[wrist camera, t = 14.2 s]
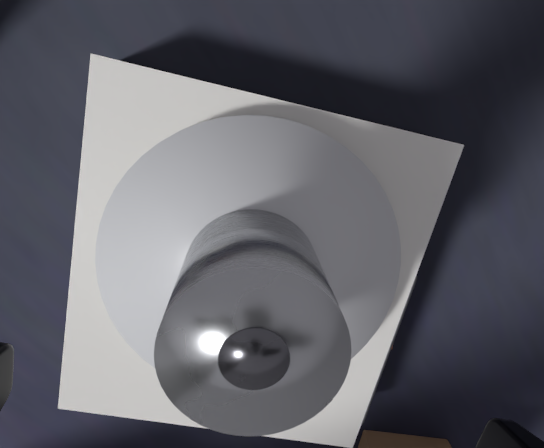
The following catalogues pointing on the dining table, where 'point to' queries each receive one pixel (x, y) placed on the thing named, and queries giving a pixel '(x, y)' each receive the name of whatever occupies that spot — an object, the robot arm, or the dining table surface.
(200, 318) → the steel weight with knob
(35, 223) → the dining table surface
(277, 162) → the kitchen scale
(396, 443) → the walnut block
